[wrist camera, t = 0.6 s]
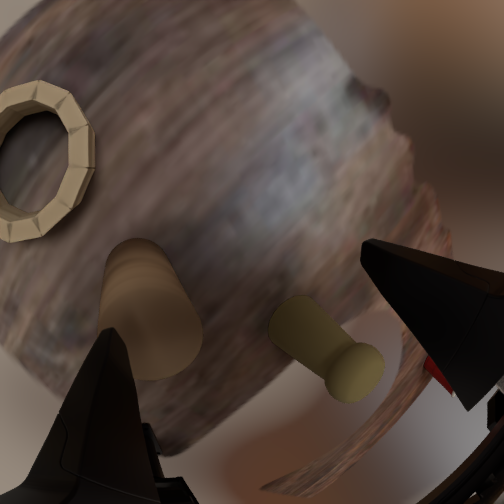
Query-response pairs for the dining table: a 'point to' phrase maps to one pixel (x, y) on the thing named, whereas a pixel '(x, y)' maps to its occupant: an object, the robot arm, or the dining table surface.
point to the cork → (326, 349)
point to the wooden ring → (80, 156)
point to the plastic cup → (437, 375)
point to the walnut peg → (149, 310)
